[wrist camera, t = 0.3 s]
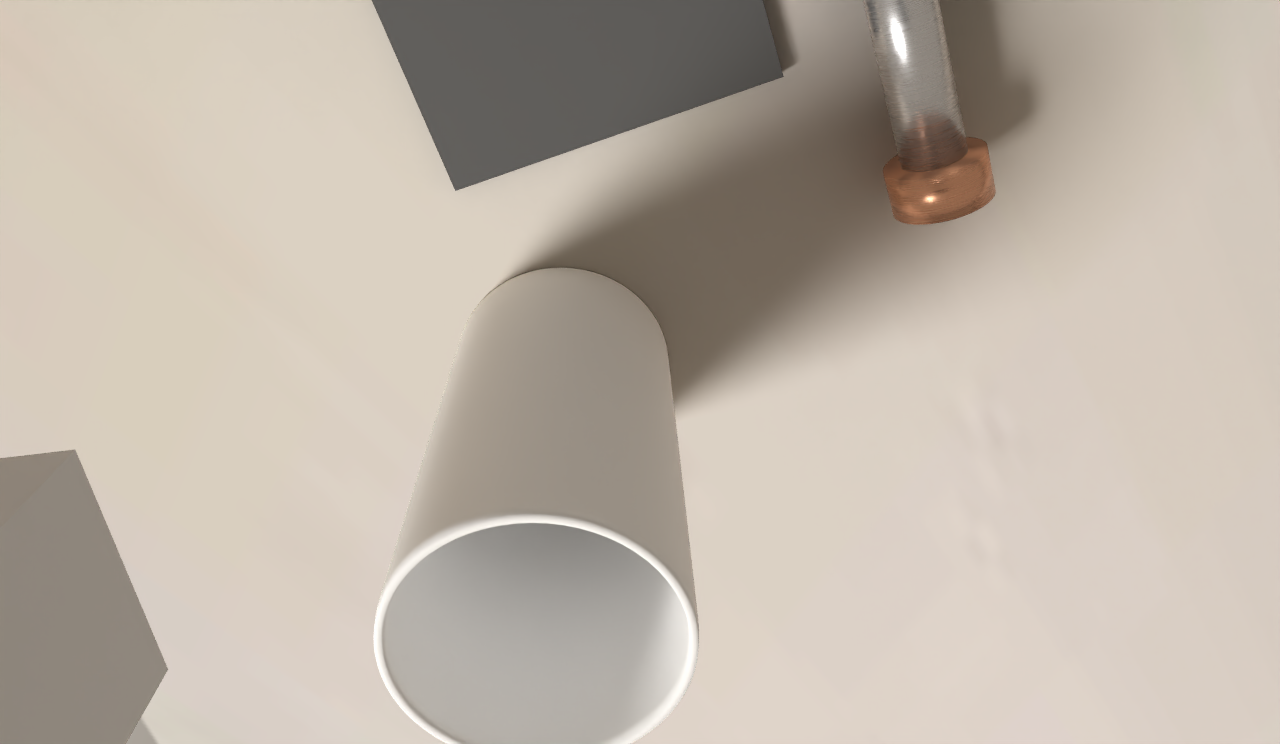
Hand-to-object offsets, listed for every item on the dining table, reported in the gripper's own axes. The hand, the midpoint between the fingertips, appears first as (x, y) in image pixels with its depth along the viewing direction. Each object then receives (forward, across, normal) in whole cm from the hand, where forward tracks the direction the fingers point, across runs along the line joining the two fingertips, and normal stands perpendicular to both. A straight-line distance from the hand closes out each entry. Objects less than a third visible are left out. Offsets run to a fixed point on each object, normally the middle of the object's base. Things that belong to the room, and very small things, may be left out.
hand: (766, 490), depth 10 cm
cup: (+28, -5, -11) cm, 30 cm away
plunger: (+27, +8, -1) cm, 28 cm away
